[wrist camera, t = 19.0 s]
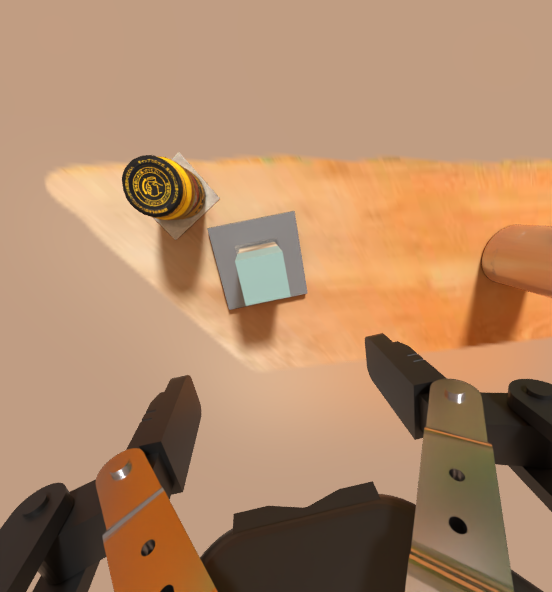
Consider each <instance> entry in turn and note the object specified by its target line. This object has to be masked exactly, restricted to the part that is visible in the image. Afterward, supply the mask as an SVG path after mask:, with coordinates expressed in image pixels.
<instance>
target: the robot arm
mask: <svg viewBox="0 0 552 592" xmlns="http://www.w3.org/2000/svg"><path fill="white" fill-rule="evenodd" d="M482 267H483V271H484V273H485V275H486V276H487V277H488V278H489V279H490V280H492V281H494V282H498V283H501V284H505V285H508V286H512V287H515V288H518V289H522V290H525V291H529V292H532V293H536V294H539V295H543V296H546V297H550V298H552V226H535V225H512V226H508V227H506V228H504V229H502V230H501V231H499V232H498V233H496V234H495V235H494V236H493V237H492V239H491V240H490V241H489V242H488V244H487V246H486V248H485V250H484V253H483V257H482ZM365 348H366V360H367V368H368V372H369V375H370V377H371V379H372V381H373V382H374V384H375V385H376V386H377V388H378V389H379V391H380V392H381V393H382V395H383V396H384V398H385V399H386V400H387V401H388V403H389V404H390V406H391V407H392V408H393V410H394V411H395V413H396V414H397V416H398V417H399V418H400V419H401V421H402V422H403V424H404V425H405V427H406V428H407V429H408V431H409V432H410V433H411V435H412V436H413V438H414V439H420V438H423V444H422V454H421V463H420V473H419V481H418V492H417V500H416V505H415V504H413V503H411V502H409V501H406V500H404V499H401V498H398V497H394V496H390V495H384V494H378V492H377V490H376V488H375V486H374V484H373V482H368V483H364V484H360V485H356V486H351V487H347V488H343V489H339V490H337V491H335V492H333V493H332V494H330V495H328V496H326V497H325V498H323V499H321V500H319V501H317V502H315V503H314V504H312V505H310V506H308V507H305V508H297V507H280V506H266V507H261V508H257V509H253V510H249V511H245V512H240V513H236V514H234V520H233V529H231V530H229V531H228V532H226V533H225V534H223V535H222V536H221V537H219V538H218V539H217V540H216V541H215V542H214V543H213V544H212V545H211V546H210V547H209V548H208V549H207V550H206V551H205V552H204V554H203V555H202V556H201V557H199V555H198V553H197V551H196V550H195V548H194V546H193V544H192V542H191V540H190V538H189V536H188V534H187V533H186V531H185V529H184V527H183V525H182V523H181V521H180V519H179V518H178V515H177V514H176V512H175V510H174V508H173V506H172V504H171V502H170V500H169V499H170V496H171V494H176V493H181V492H183V490H184V485H185V481H186V477H187V473H188V469H189V465H190V461H191V457H192V452H193V448H194V444H195V440H196V436H197V432H198V428H199V423H200V419H201V405H200V402H199V399H198V396H197V393H196V390H195V387H194V384H193V382H192V379H191V377H190V376H189V375H186V376H181V377H177V378H172V379H171V380H170V381H169V384H168V386H167V388H166V390H165V392H162V393H160V394H159V395H158V396H157V397H156V398H155V399H154V400H153V401H152V402H151V403H150V405H149V407H148V409H147V411H146V414H145V415H144V417H143V419H142V422H141V423H140V424H139V426H138V428H137V430H136V432H135V434H134V436H133V438H132V440H131V442H130V444H129V445H128V447H127V449H126V450H125V451H123V452H121V453H119V454H117V455H116V456H114V457H113V458H112V459H110V460H109V461H108V462H107V463H106V464H105V465H104V466H103V467H102V469H101V470H100V471H99V473H98V475H97V478H96V480H94V481H92V482H90V483H87V484H85V485H83V486H81V487H79V488H77V489H75V490H73V491H71V492H69V491H68V490H67V488H66V486H65V485H64V484H63V483H54V484H50V485H48V486H45V487H43V488H41V489H40V490H38V491H36V492H35V493H33V494H32V495H31V496H29V497H28V498H27V499H26V500H24V501H23V502H22V503H21V504H20V505H19V506H18V507H17V508H16V509H15V510H14V512H13V513H12V514H11V515H10V517H9V518H8V519H7V521H6V522H5V523H4V525H3V526H2V528H1V529H0V592H26V591H27V589H28V587H29V585H30V584H31V582H32V580H33V578H34V576H35V575H36V573H37V571H38V572H39V573H40V574H41V577H40V579H39V580H38V582H37V584H36V586H35V588H34V590H33V592H88V590H89V588H90V585H91V582H92V580H93V577H94V575H95V572H96V569H97V567H98V564H99V562H100V560H101V559H103V558H105V557H107V561H108V566H109V570H110V575H111V579H112V584H113V588H114V592H543V591H542V590H540V589H539V588H537V587H536V586H534V585H533V584H531V583H530V582H529V581H527V580H526V579H524V578H523V577H521V576H520V575H519V574H517V573H516V572H514V571H513V570H511V568H510V561H509V555H508V548H507V541H506V534H505V528H504V521H503V514H502V507H501V500H500V494H499V487H498V480H497V473H496V467H495V464H500V465H508V466H509V467H510V468H511V469H512V470H513V471H514V472H515V473H516V474H517V475H518V476H519V477H520V478H521V480H522V481H523V482H524V483H525V484H526V485H527V486H528V487H529V488H530V489H531V490H532V491H533V492H534V493H535V494H536V496H538V498H540V500H541V501H542V502H543V503H544V504H545V505H546V506H547V507H548V508H549V509H550V510H551V512H552V384H549V383H546V382H543V381H539V380H533V379H518V380H514V381H512V382H511V383H510V384H509V388H508V393H481V392H479V391H478V390H477V389H476V388H475V387H473V386H472V385H470V384H468V383H466V382H463V381H460V380H456V379H447V378H445V377H444V376H443V375H442V374H441V373H439V372H438V371H437V370H436V369H435V368H434V367H432V366H431V365H430V364H429V363H428V362H427V361H426V360H423V358H422V357H421V356H420V355H418V354H417V353H416V352H415V351H414V350H413V349H411V348H410V347H409V346H407V345H405V344H402V343H400V342H398V341H397V342H392V341H391V340H390V339H389V338H388V337H387V336H385V335H384V334H383V333H381V334H377V335H372V336H368V337H366V338H365Z"/></svg>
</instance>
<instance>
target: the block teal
mask: <svg viewBox="0 0 552 592" xmlns="http://www.w3.org/2000/svg"><path fill="white" fill-rule="evenodd" d="M235 263H236V267H237V272H238V276H239V280H240V284H241V288H242V292H243V296H244V300H245V304H246V306H248V305H253V304H257V303H262V302H267V301H271V300H276V299H281V298H286V297H290V296H291V295H290V290H289V284H288V279H287V273H286V268H285V263H284V257H283V252H282V250H281V249H280V248H279V247H278V246H273V247H269V248H264V249H259V250H254V251H249V252H244V253H239V254H237V257H236V260H235Z"/></svg>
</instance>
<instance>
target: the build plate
mask: <svg viewBox="0 0 552 592" xmlns="http://www.w3.org/2000/svg"><path fill="white" fill-rule="evenodd" d="M207 229H208V233H209V236H210V240H211V244H212V248H213V251H214V255H215V259H216V263H217V266H218V270H219V274H220V278H221V281H222V285H223V289H224V293H225V296H226V300H227V304H228V308H229V310H231V309H236V308H240V307H245V306H246V304H245V300H244V296H243V292H242V288H241V284H240V280H239V276H238V272H237V267H236V263H235V260H236V257H237V254H238V252H239V249H241V248H246V247H251V246H256V245H261V244H266V243H271V242H275V243H276V244H277V245H278V247H279V248H280V249H281V250H282V252H283V257H284V263H285V268H286V273H287V279H288V284H289V290H290V295H291V296H290V297H293V296H297V295H302V294H307V287H306V281H305V274H304V268H303V262H302V255H301V249H300V243H299V237H298V230H297V224H296V218H295V211H291V212H286V213H281V214H276V215H271V216H266V217H261V218H256V219H251V220H246V221H241V222H236V223H231V224H226V225H221V226H216V227H211V228H207ZM286 298H288V297H286ZM281 299H283V298H281ZM276 300H278V299H276ZM271 301H274V300H271ZM267 302H269V301H267ZM262 303H264V302H262ZM257 304H259V303H257ZM253 305H255V304H253ZM248 306H250V305H248Z"/></svg>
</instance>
